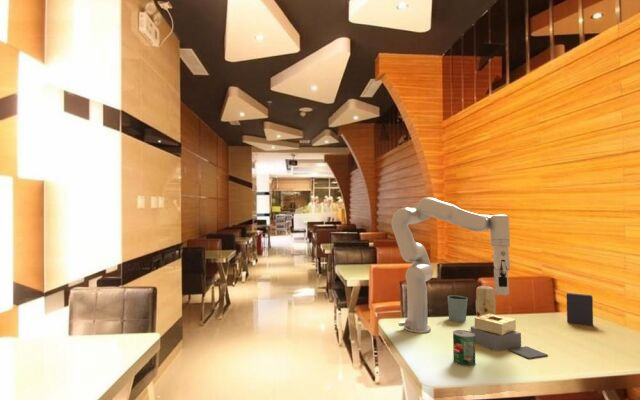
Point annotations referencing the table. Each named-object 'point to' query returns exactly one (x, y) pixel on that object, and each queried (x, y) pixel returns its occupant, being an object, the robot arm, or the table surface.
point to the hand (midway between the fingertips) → (501, 284)
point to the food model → (485, 301)
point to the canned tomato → (464, 348)
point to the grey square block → (497, 339)
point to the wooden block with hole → (495, 324)
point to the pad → (527, 352)
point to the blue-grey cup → (457, 308)
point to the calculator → (580, 309)
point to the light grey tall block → (498, 289)
